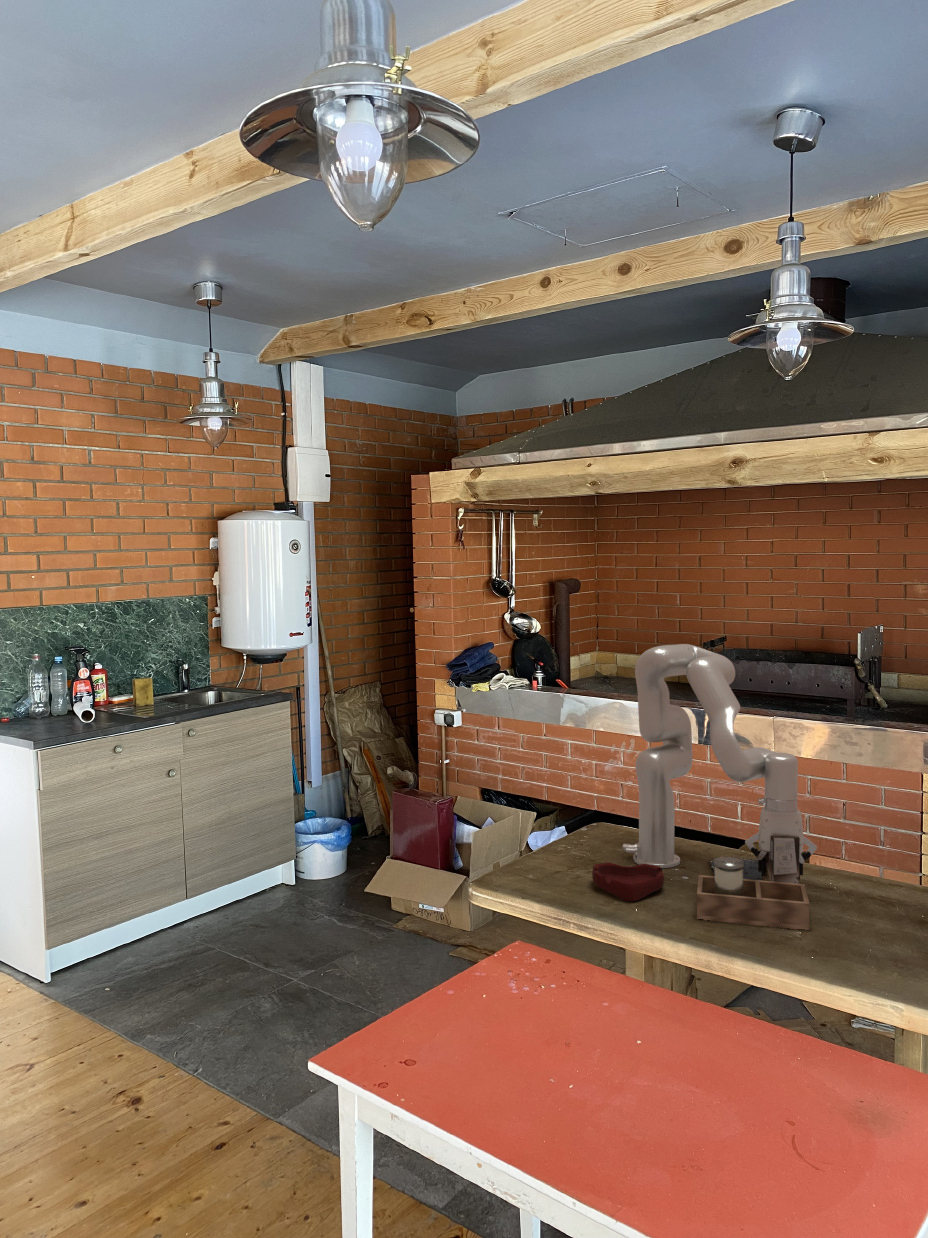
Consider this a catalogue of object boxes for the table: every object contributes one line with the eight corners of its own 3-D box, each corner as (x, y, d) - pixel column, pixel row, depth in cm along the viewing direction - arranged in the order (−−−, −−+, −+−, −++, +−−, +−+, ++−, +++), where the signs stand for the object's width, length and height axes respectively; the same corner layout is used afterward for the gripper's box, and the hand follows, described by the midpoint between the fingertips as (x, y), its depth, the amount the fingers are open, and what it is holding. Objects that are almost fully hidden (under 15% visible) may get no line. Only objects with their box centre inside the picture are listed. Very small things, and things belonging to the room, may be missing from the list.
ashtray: (593, 903, 212) (593, 883, 212) (591, 880, 229) (591, 861, 228) (668, 906, 210) (668, 885, 210) (661, 882, 226) (661, 863, 226)
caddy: (696, 919, 201) (696, 893, 201) (698, 899, 214) (698, 875, 213) (809, 930, 194) (809, 904, 194) (804, 909, 207) (804, 884, 206)
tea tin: (713, 912, 203) (713, 865, 203) (713, 901, 210) (714, 856, 209) (744, 915, 201) (744, 867, 201) (743, 904, 208) (744, 858, 207)
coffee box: (800, 904, 210) (800, 837, 209) (772, 904, 210) (773, 838, 209) (787, 891, 219) (787, 827, 218) (760, 891, 219) (761, 827, 218)
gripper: (743, 806, 212) (743, 878, 213) (821, 811, 207) (820, 885, 208) (743, 798, 219) (742, 868, 220) (817, 803, 214) (817, 874, 215)
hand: (780, 876), depth 214 cm, fingers closed on coffee box, 7 cm apart
